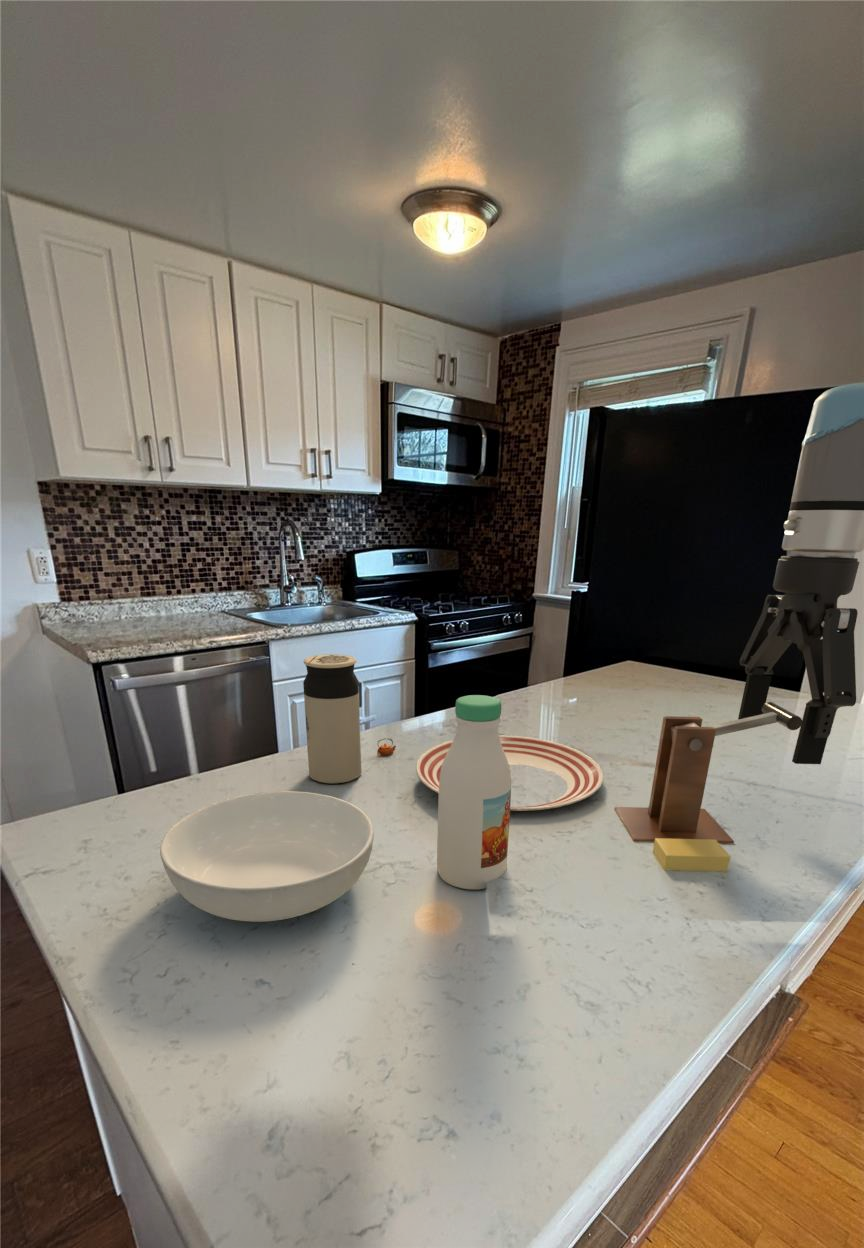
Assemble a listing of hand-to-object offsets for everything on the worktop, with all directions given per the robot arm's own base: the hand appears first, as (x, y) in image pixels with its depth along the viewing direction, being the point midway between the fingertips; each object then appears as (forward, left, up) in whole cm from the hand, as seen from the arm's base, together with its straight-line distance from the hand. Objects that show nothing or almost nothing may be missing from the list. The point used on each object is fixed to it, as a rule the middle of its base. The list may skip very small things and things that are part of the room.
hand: (774, 742), depth 73 cm
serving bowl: (+42, +41, -13) cm, 60 cm away
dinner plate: (+33, +2, -13) cm, 36 cm away
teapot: (+56, +1, -13) cm, 58 cm away
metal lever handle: (+5, +3, +1) cm, 5 cm away
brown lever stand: (+9, +5, -12) cm, 16 cm away
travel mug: (+57, +13, -13) cm, 60 cm away
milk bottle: (+26, +27, -13) cm, 40 cm away
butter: (+6, +14, -12) cm, 19 cm away
